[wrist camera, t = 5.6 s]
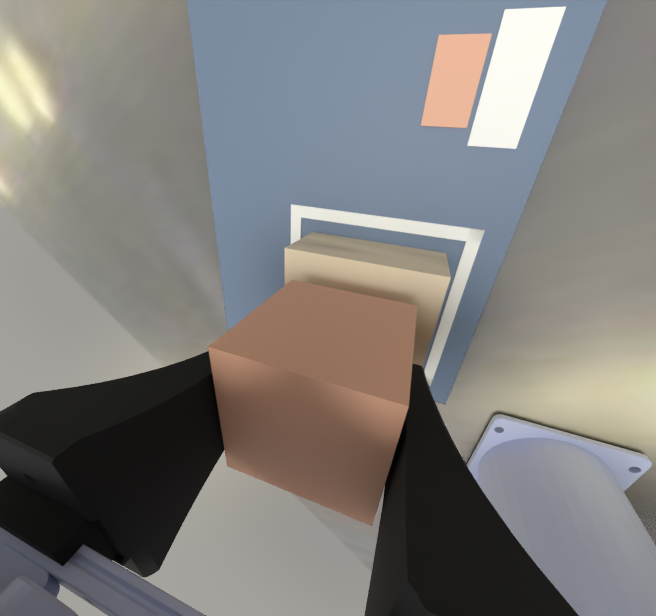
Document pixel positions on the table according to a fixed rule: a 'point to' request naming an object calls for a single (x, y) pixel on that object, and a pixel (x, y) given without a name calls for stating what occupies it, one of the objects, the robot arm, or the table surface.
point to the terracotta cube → (317, 393)
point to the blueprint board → (381, 134)
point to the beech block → (375, 275)
